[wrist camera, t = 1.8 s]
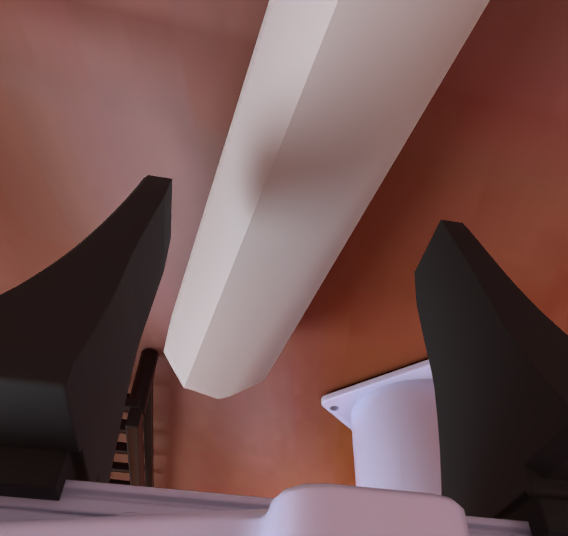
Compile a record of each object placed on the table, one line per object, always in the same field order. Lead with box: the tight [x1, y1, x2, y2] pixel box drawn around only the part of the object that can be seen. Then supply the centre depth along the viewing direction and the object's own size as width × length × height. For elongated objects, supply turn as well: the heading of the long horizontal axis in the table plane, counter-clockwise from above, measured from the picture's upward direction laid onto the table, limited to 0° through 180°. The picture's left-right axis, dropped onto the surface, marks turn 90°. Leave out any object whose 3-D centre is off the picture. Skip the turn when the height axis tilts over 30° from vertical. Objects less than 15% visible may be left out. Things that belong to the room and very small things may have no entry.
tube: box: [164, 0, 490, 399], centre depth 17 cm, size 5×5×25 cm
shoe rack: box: [109, 349, 158, 487], centre depth 33 cm, size 10×22×4 cm, turn 170°
